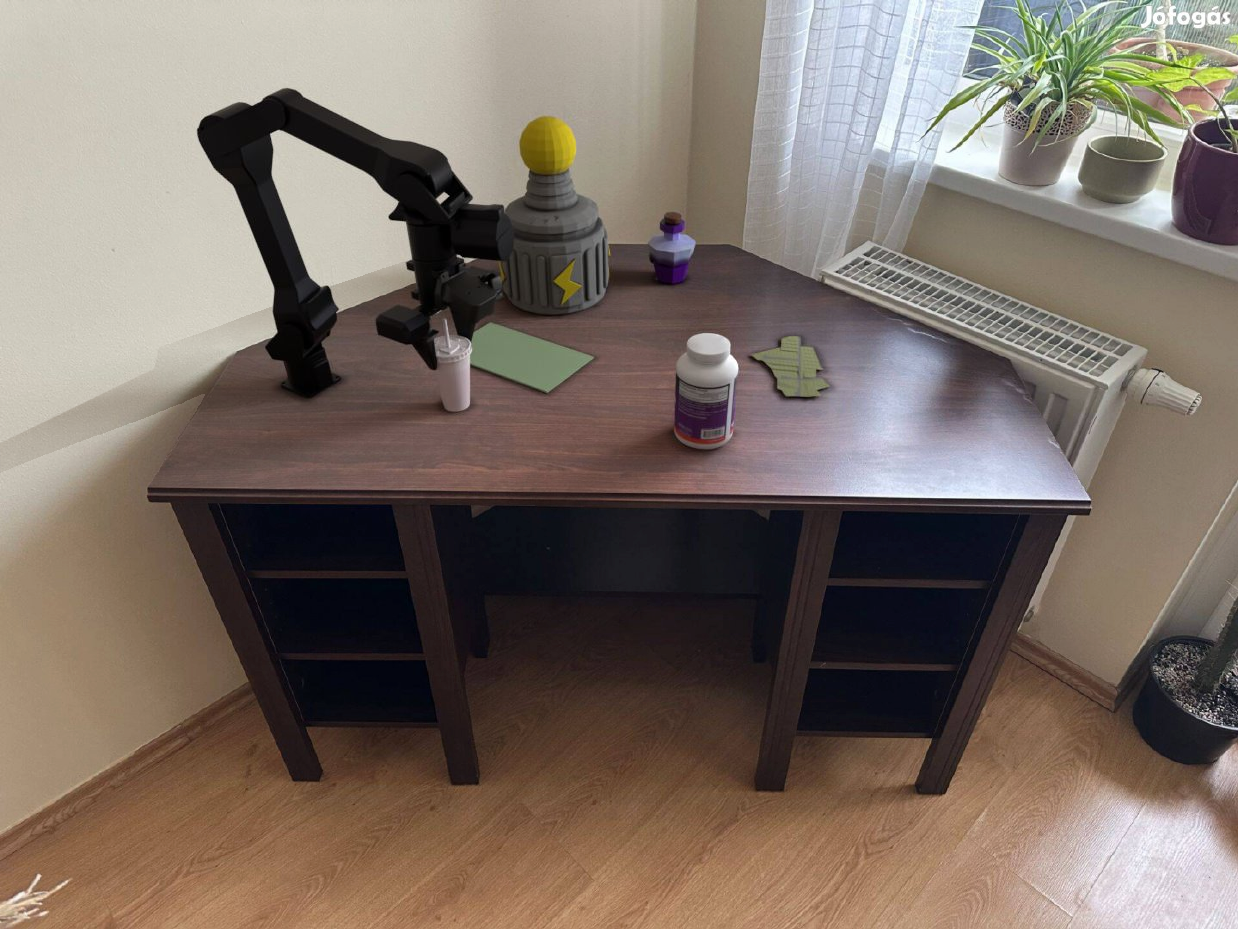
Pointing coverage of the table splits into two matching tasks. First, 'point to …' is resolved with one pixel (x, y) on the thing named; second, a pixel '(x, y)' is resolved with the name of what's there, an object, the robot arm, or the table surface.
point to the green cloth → (524, 357)
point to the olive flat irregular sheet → (794, 367)
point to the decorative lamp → (554, 230)
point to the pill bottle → (705, 392)
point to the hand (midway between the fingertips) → (449, 359)
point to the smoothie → (453, 370)
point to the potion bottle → (671, 250)
